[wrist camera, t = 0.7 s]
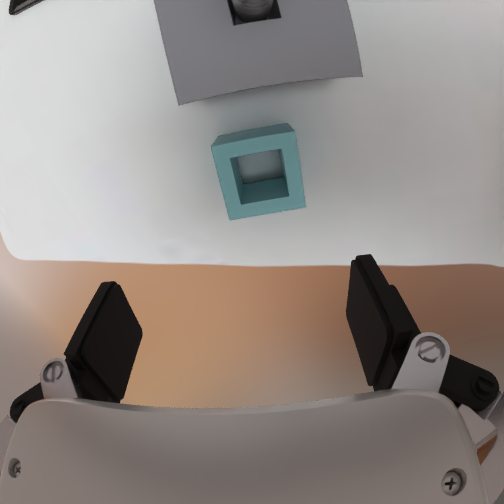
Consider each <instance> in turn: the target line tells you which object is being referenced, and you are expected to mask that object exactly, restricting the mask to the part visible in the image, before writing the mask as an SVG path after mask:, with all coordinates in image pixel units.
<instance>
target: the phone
mask: <svg viewBox="0 0 504 504" xmlns="http://www.w3.org/2000/svg"><path fill="white" fill-rule="evenodd" d="M42 1H44V0H11V1H10V6H9V14H10V15H17V14H19V13H21V12H22V11H24V10H26V9H28V8H30V7H32V6H34V5H36V4H38V3H40V2H42Z"/></svg>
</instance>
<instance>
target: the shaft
mask: <svg viewBox="0 0 504 504" xmlns="http://www.w3.org/2000/svg"><path fill="white" fill-rule="evenodd" d="M232 2H233V5H234V9H235V13H236V15H237V17H238V18H239V19H240V20H241V21H243V22H245V23H251V22H257V21H263V20H266V19H267V18H268V17H269V15H270V13H271V8H272V4H273V0H232Z"/></svg>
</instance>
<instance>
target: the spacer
mask: <svg viewBox="0 0 504 504" xmlns="http://www.w3.org/2000/svg"><path fill="white" fill-rule="evenodd" d="M277 149H279V152H280V157H281V163H282V169H283V175H284V177H283V178H277V179H271V180H265V181H259V182H254V183H248V184H243V182H242V178H241V173H240V169H239V165H238V160H237V157H238V156H243V155H249V154H254V153H259V152H265V151H271V150H277ZM211 150H212V154H213V158H214V162H215V166H216V169H217V173H218V177H219V181H220V185H221V189H222V193H223V197H224V200H225V204H226V208H227V212H228V216H229V220H235V219H240V218H246V217H251V216H257V215H263V214H269V213H275V212H281V211H287V210H293V209H299V208H306V204H305V196H304V189H303V182H302V175H301V168H300V161H299V154H298V148H297V142H296V136H295V131H294V130H293V129H292V128H291V126H290V125H289V124H288V123H285V124H279V125H272V126H266V127H261V128H255V129H250V130H245V131H240V132H235V133H230V134H225V135H221V136H218V137H217V139H216V140H215V142H214V143H213V144H212V146H211Z"/></svg>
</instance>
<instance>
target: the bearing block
mask: <svg viewBox="0 0 504 504" xmlns="http://www.w3.org/2000/svg"><path fill="white" fill-rule="evenodd" d="M154 3H155V8H156V12H157V17H158V21H159V26H160V30H161V35H162V39H163V43H164V48H165V52H166V56H167V60H168V65H169V69H170V73H171V77H172V81H173V85H174V89H175V93H176V97H177V101H178V105H183V104H186V103H190V102H194V101H197V100H201V99H205V98H209V97H213V96H218V95H222V94H227V93H231V92H236V91H241V90H246V89H251V88H257V87H263V86H269V85H275V84H282V83H289V82H297V81H306V80H316V79H328V78H343V77H363V74H362V68H361V62H360V57H359V51H358V46H357V41H356V36H355V32H354V27H353V23H352V19H351V14H350V10H349V6H348V3H347V0H273V4H272V8H271V13H270V15H269V20H263V21H257V22H251V23H245V24H239V25H235V21H234V17H233V15H236V13H235V9H234V5H233V2H232V0H154Z"/></svg>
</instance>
